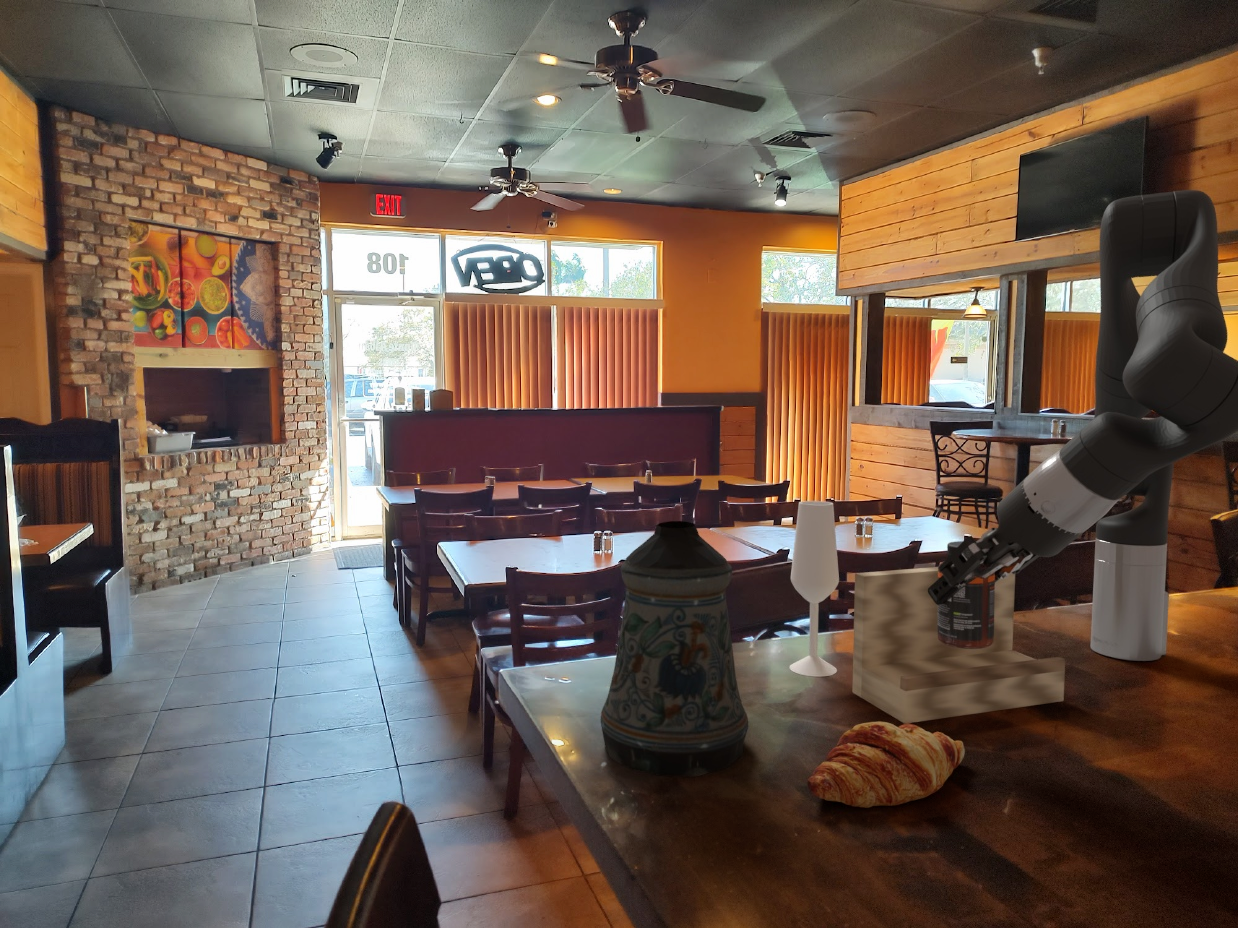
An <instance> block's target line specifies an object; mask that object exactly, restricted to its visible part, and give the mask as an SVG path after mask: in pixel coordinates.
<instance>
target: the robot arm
mask: <svg viewBox="0 0 1238 928" xmlns="http://www.w3.org/2000/svg"><path fill="white" fill-rule="evenodd" d="M1217 218H1218V217H1217V212H1216V208H1215V205H1214V203H1213V200H1212V199H1211V197H1210V196H1209V195H1208V194H1207V193H1206V192H1204V191H1201V190H1198V189H1197V190H1196V189H1185V190H1173V191H1168V192H1167V191H1166V192H1159V193H1150V194H1141V195H1140V194H1139V195H1134V196H1133V195H1132V196H1127V197H1121V198H1118V199H1115V200H1113V201H1112V202H1110V203H1109V204H1108V205H1107V207H1106V208H1105V210H1104V212H1103V215H1102V217H1101V223H1100V229H1099V230H1100V231H1099V245H1098V246H1099V279H1100V281H1099V282H1100V283H1099V284H1100V285H1099V286H1100V290H1099V291H1100V313H1099V315H1100V317H1099V327H1098V338H1097V345H1096V354H1095V373H1094V418H1092V420H1091V421H1089V422H1088V423H1087V424H1086V425H1085V426H1084V427H1083V428H1082V429H1081V430H1080V431H1079V432H1077V433H1076V434H1075V435H1074V436H1073V437H1072V438H1071V439H1070V440H1069V441H1068V442H1067V443H1066V444H1064V445H1063V446H1062V447H1061V448H1060V449H1059V450H1058V451H1057V452H1055V453H1054V454H1052V455H1051V456H1049V457H1048V458H1046V459H1045V460H1044V461H1042V462H1041V463H1040V464H1039V465H1038V466H1037V467H1036V468H1035V469H1034V470H1032V472H1030V473H1029V474H1027V476H1026V477H1025V478H1023V480H1022V481H1021V482H1019V484H1018V485H1016V486H1015V488H1013V489H1012V490H1011V491H1010V492H1009V493H1008V494H1007V495H1006V496H1005V497H1003V498H1002V500H1000V501H999V503H998V504H997V507H996V515H997V519H998V526H997V527H995V526H994V527H991V528H989V529H988V530H986V531H985V532H984V533H982V534H981V535H980V538H979V539H977V540H976V539H974V537H973V536H969V537H966V538H965V539H964V540H962V541H963V542H962V543H961V544H960V545H959V546H958V547H957V548H956V549H955V550H954V551H953V553H952V554H951V555H950V556H949V557H947V558H946V559H945V560H944V562H943V561H942V562H943V563H942V562H941V563H942V564H941V563H940V564H941V565H940V564H939V565H940V566H939V565H938V566H937V567H938V569H939V571H940V572H941V573H942V574H943V575H942V576H941V577H940V578H939V579H938V580H937V581H936V582H935V583H934V584H932V585H931V586H930V587H929V588H928V593H929V595H930V596H931V598H932V599H933V601H934V602H935V603H936V604H937V605H941V604H944V603H945V602H946V601H948V600H949V599H950V598H951V597H952V596H953V595H955V594H956V593H957V592H958V591H959V590H960V589H961V588H963V587H965V586H966V585H967V584H968V583H970V582H971V581H973V580H974V579H976V578H980V579H984V578H986V577H988V576H989V575H991V574H992V573H994V572H995V582H997V581H998V580H999V579H1005V578H1006V577H1007V576H1008V575H1009V574H1010V573H1011V572H1012V573H1013V574H1015V575H1016V574H1019V573H1020V572H1021V571H1022V570H1024V569H1025V568H1026V567H1028V566H1029V565H1030V564H1031V563H1033V562H1034V561H1036V560H1037V559H1039V558H1040V557H1043V558H1051V557H1054V556H1056V555H1058V554H1059V553H1060V552H1062V551H1063V550H1064V549H1065V548H1066V547H1068V546H1069V545H1070V544H1071V543H1072V542H1074V541H1075V540H1076V539H1077V538H1079V537H1080V536H1081V535H1083V534H1084V533H1085V532H1087V530H1089V528H1091V527H1092V526H1093V525H1094V524H1095V525H1096V527H1095V544H1094V545H1095V547H1094V565H1093V586H1092V587H1093V589H1092V608H1091V629H1090V631H1091V632H1090V649H1091V650H1092V651H1093V652H1095V653H1098V654H1100V655H1103V656H1106V657H1111V658H1114V659H1120V660H1125V661H1134V662H1135V661H1137V662H1141V661H1142V662H1146V661H1148V662H1149V661H1157V660H1159V659H1160V658H1161V657H1162V656H1165V655H1167V641H1168V640H1167V637H1168V622H1169V620H1168V619H1169V606H1170V605H1169V603H1170V602H1169V601H1170V594H1169V592H1167V591H1166V574H1167V573H1166V572H1167V570H1166V569H1167V553H1168V552H1167V551H1168V537H1169V535H1168V531H1169V530H1168V529H1169V528H1168V526H1169V510H1170V499H1171V491H1172V490H1171V489H1172V483H1173V474H1174V468H1175V465H1174V464H1175V463H1176V462H1178V461H1179V460H1182V459H1184V458H1186V457H1188V456H1191V455H1193V454H1195V453H1197V452H1199V451H1202V450H1204V449H1206V448H1208V447H1209V448H1210V447H1211V446H1213V445H1215V444H1217V443H1219V442H1222V441H1223V440H1226V439H1227V438H1229V437H1231V436H1233V435H1234V434H1235V433H1237V432H1238V360H1237V359H1235V358H1234V357H1233V356H1230V355H1228V354H1227V353H1225V352H1224V351H1225V349H1226V348H1227V344H1228V328H1227V323H1226V319H1225V316H1224V312H1223V308H1222V305H1221V302H1220V297H1219V292H1218V291H1219V290H1218V281H1219V280H1218V278H1219V277H1218V276H1219V241H1218V240H1219V238H1218V237H1219V236H1218V235H1219V233H1218V221H1217V220H1218V219H1217ZM1146 277H1154V279H1152V280H1151V281H1150V282H1149V283H1148V284H1147V286H1146V287H1145V288H1144V290H1143V291H1142V293H1141V294H1140V293H1139V292H1138V290H1137V289H1136V288H1137V287H1136V285H1135V282H1134V281H1133V279H1135V278H1146ZM1151 412H1154V413H1155V414H1156V415H1159V417H1155V418H1149V419H1147V418H1146V419H1145V418H1144V417H1146V416H1147V415H1149V413H1151ZM1124 496H1135V497H1137V496H1138V497H1144V499H1143V502H1141V504H1139V505H1137V506H1136V507H1134V508H1132V509H1131V510H1128V511H1124V512H1123V513H1119V514H1115V515H1110V516H1105V515H1107V514H1108V512H1109V511H1110V510H1111V509H1112V507H1114V506H1115V505H1116V503H1117V502H1119V501H1120V500H1121V499H1122V498H1123V497H1124ZM1104 516H1105V517H1104ZM982 563H983V564H984V565H985V566H986V567H987V568H986V569H981V567H980V566H979V564H982Z"/></svg>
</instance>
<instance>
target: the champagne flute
mask: <svg viewBox="0 0 1238 928" xmlns="http://www.w3.org/2000/svg"><path fill="white" fill-rule="evenodd" d="M797 508H798V509H797V518H796V526H795V534H794V535H795V536H794V543H793V552H792V553H793V554H792V560H791V561H792V563H791V571H790V582H791V584H792V586H793V587H794V589H795V591H797V593H798V594H799V595H801V596H802V598H803V599H804V600H805V601H807V602H808V603H809V636H808V637H809V638H808V639H809V641H808V642H809V643H808V644H809V645H808V646H809V647H808V655H807V656H805V657H803V658H801V659H800V660H797V661H795V662H794V663H791V664H790V665H789V670H791V672H793V673H796V674H798V675H801V676H805V677H828V676H833V675H835V674H836V673H837V672H838V670H837V668H836V667H835V666H834V665H832V664H831V663H829V662H827V661H825V660H824V658H821V657H820V656H819V655H818V654H819V653H818V651H819V649H818V648H819V647H818V645H819V643H818V642H819V639H818V638H819V637H818V636H819V603H821V602H823V601H825V599H827V598H828V597H830V595H831V594H832V593H833V592H834V591H835V589H837V587H838V585H839V582H840V577H839V564H838V563H839V561H838V549H837V538H836V537H837V535H836V522H835V509H834V508H835V507H834V503H833V502H831V501H821V500H804V501H803V500H802V501H799V502H798V507H797Z"/></svg>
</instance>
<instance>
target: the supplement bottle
mask: <svg viewBox="0 0 1238 928" xmlns="http://www.w3.org/2000/svg"><path fill="white" fill-rule="evenodd" d="M963 541H964V540H961V541H950V542H948V543H947V549H946V550H947V553H946V555H947V556H948V557H949V556H950V555H951V554H952V553H953V551H954V550H955V549H956V548H957V547H958V546H959V545H960V544H961V543H962V542H963ZM948 557H947V558H948ZM944 561H945V560H944ZM944 561H942V562H940V564H939V565H938V567H939V566H940V565H941V564H942V563H943V562H944ZM979 566H980V567H981V569H986V568H987V567H986V566H985V565H984V564H983V563H982V564H979ZM942 575H943V574H942V573H941V572H940V571H939V569H938V579H939V578H940V577H941V576H942ZM994 600H995V572H994V573H992V574H991V575H989V576H988V577H986V578H984V579H980V578H976V579H974V580H973V581H971V582H970V583H968V584H967V585H966V586H965V587H963V588H961V589H960V590H959V591H958V592H957V593H956V594H955V595H953V596H952V597H951V598H950V599H949V600H948V601H946V602H945V603H944V604H941V605H938V620H937V621H938V622H937V623H938V626H937V632H938V639H939V640H940V641H941V642H942V643H944V644H946V645H948V646H952V647H958V648H964V649H981V648H986V647H989V646H990V645H992V643H993V641H994V607H995V606H994V603H995V602H994Z"/></svg>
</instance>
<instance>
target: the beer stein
mask: <svg viewBox="0 0 1238 928" xmlns="http://www.w3.org/2000/svg"><path fill="white" fill-rule="evenodd" d="M620 572H621V579H622V581H623V583H624V585H625V598H624V599H625V600H624V605H623V611H622V619H621V626H620V632H619V638H618V643H617V649H616V656H615V663H614V668H613V674H612V677H611V680H610V681H611V682H610V685H609V690H608V694H607V697H606V699H605V702H604V705H603V706H602V709H601V713H600V725H601V726H600V727H601V731H602V737H603V742H604V746H605V747H604V748H605V751H606V752H607V753H608V755H609V757H610V758H611V759H612V760H613V761H615V762H617V763H618V764H620V765H623V766H624V767H626V768H627V769H630V770H634V771H638V772H643V773H646V774H651V775H654V776H661V777H665V776H666V777H699V776H702V775H706V774H709V773H712V772H716V771H719V770H723V769H725V768H728V767H730V766H731V765H732V764H733V763H735V762H736V761H737V760H738V759H739V758H741V757H742V755H743V753H744V743H745V739H746V736H747V733H748V730H749V726H750V725H749V718H748V715H747V712H746V710H745V707H744V705H743V704H742V700H741V696H740V692H739V691H740V690H739V687H738V679H737V674H736V668H735V667H736V666H735V659H734V658H735V657H734V650H733V649H734V648H733V642H732V635H731V633H732V632H731V625H730V618H729V611H728V605H727V595H726V592H727V591H726V589H727V588H728V586H729V585H730V583H731V579H732V574H733V567H732V566H731V564H730V563H729V562H728V561H727V559H726V558H725V556H723V555H722V554H721V553H720V552H719V551H718V550H716V549H715V548H714V547H713V546H712V545H711V544H709V542H707V541H706V540H705V539H704V538H703V537H702V536H700V534H699V531H698V528H697V526H696V524H695V523H692V522H689V521H683V520H672V521H671V520H670V521H669V520H668V521H663V522H659V523H658V524H657V525H656V527H655V530H654V533H653V534H652V535H651V536H649V538H647V539H646V540H645V541H644V542H643V543H642V544H640V545H639V546H638V547H637V548H635V549H634V550H632V552H630V554H629V555H628V556H626V558H625V560H624V561H623V562H622V563H621V566H620Z"/></svg>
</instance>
